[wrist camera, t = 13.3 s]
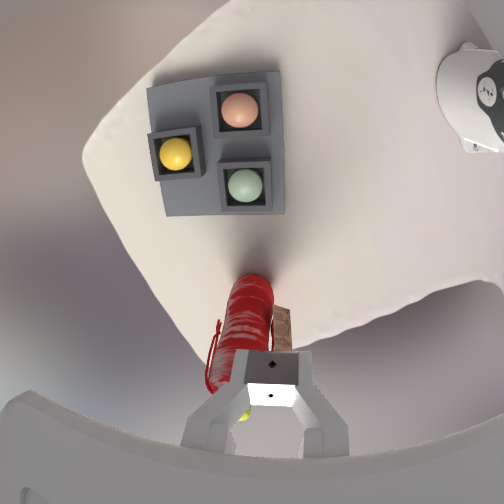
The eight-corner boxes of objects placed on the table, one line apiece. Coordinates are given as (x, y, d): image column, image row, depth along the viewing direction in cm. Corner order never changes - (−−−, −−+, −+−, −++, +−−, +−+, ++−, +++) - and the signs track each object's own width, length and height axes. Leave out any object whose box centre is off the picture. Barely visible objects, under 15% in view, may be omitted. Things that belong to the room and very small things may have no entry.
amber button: (193, 134, 33) (188, 136, 32) (196, 165, 36) (192, 168, 34) (163, 138, 34) (157, 141, 32) (167, 167, 36) (162, 171, 35)
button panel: (279, 72, 30) (279, 69, 26) (284, 208, 40) (284, 222, 37) (152, 88, 32) (137, 88, 28) (171, 211, 43) (160, 223, 39)
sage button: (262, 166, 35) (261, 169, 33) (263, 196, 37) (262, 201, 36) (229, 167, 36) (226, 171, 34) (232, 197, 38) (229, 202, 36)
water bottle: (299, 273, 46) (300, 411, 25) (291, 307, 51) (287, 433, 30) (229, 264, 47) (189, 396, 26) (227, 298, 51) (196, 420, 30)
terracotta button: (258, 92, 30) (256, 92, 28) (260, 124, 32) (258, 126, 30) (223, 94, 30) (220, 94, 29) (226, 126, 33) (222, 128, 31)
